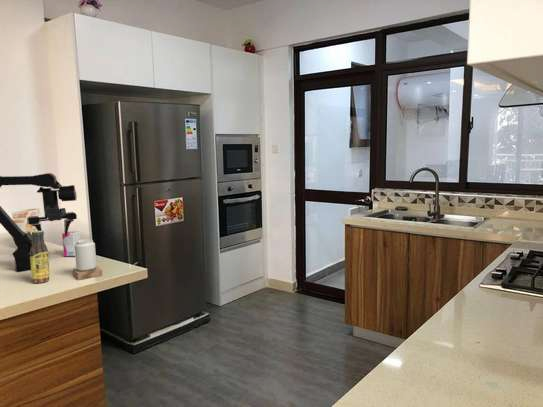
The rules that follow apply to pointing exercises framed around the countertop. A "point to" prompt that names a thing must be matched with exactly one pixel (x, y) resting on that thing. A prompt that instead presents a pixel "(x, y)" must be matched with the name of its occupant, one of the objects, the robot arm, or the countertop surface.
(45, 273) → the sauce bottle
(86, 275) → the walnut plinth
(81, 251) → the can
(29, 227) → the coffeecake box
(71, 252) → the supplement box
